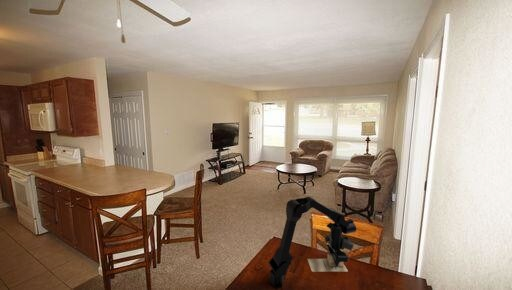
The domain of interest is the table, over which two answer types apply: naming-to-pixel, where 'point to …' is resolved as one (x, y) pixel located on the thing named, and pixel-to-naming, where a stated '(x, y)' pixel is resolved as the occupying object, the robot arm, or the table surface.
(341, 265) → the sanding block
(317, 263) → the board
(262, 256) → the table surface
